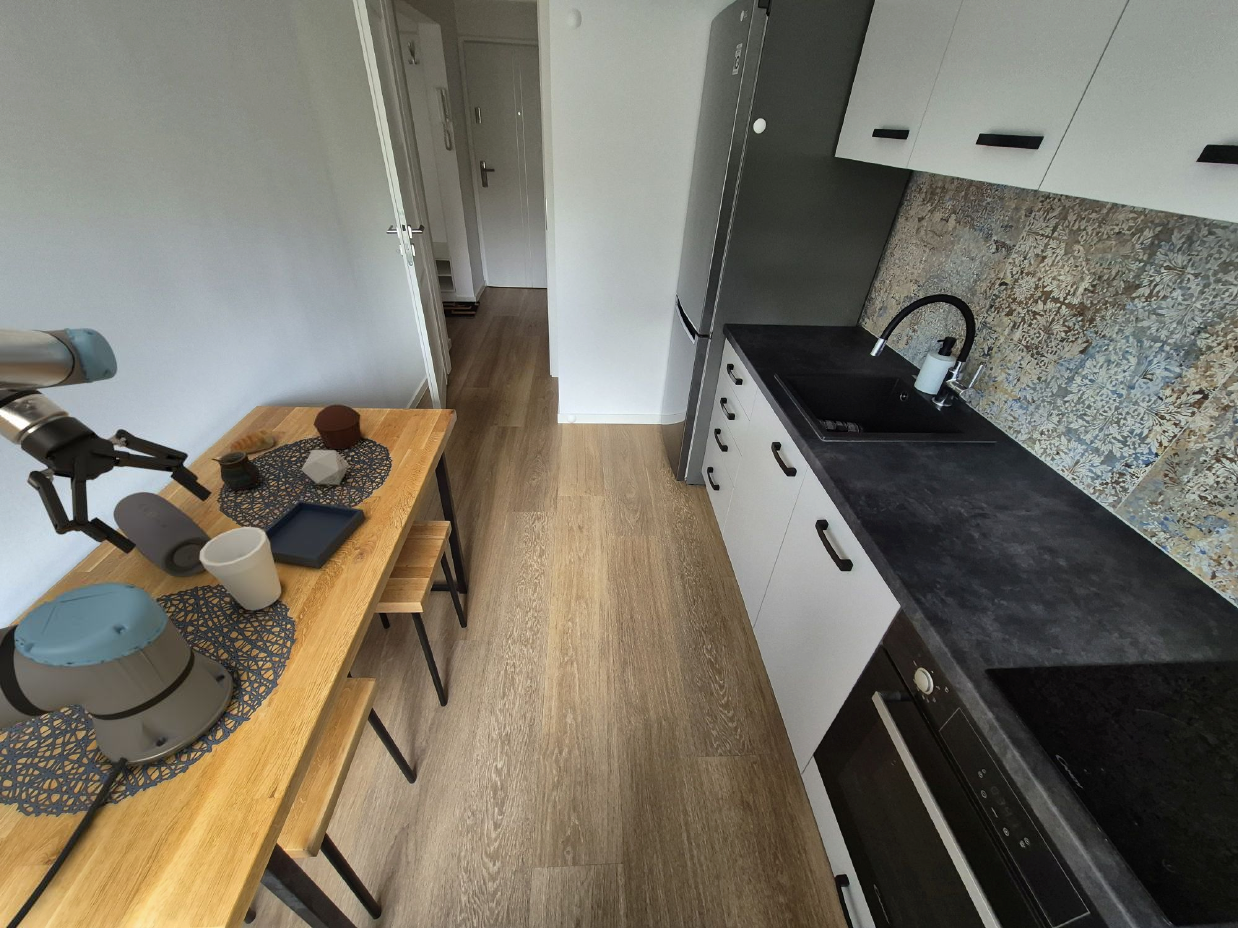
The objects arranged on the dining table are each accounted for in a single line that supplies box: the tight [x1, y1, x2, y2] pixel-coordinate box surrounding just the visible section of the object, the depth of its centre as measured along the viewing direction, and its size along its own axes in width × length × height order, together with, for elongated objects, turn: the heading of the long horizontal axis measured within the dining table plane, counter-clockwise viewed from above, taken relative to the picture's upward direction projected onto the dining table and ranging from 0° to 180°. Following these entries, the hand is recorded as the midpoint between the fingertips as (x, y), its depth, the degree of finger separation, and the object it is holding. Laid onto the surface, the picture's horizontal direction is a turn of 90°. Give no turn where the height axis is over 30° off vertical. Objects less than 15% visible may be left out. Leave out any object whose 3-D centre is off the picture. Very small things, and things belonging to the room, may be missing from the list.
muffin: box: [313, 404, 362, 450], centre depth 132 cm, size 12×11×10 cm
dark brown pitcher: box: [211, 451, 261, 491], centre depth 115 cm, size 7×8×10 cm
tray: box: [263, 499, 366, 569], centre depth 104 cm, size 15×15×3 cm
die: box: [301, 449, 350, 486], centre depth 118 cm, size 8×9×10 cm
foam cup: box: [200, 526, 282, 611], centre depth 87 cm, size 10×9×13 cm
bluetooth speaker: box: [113, 491, 212, 578], centre depth 96 cm, size 23×9×10 cm, turn 57°
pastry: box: [230, 428, 275, 455], centre depth 130 cm, size 9×7×4 cm
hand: (172, 521), depth 83 cm, fingers open, 13 cm apart
